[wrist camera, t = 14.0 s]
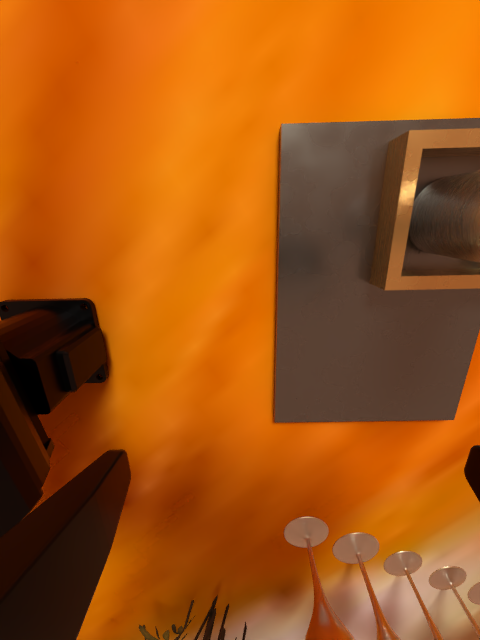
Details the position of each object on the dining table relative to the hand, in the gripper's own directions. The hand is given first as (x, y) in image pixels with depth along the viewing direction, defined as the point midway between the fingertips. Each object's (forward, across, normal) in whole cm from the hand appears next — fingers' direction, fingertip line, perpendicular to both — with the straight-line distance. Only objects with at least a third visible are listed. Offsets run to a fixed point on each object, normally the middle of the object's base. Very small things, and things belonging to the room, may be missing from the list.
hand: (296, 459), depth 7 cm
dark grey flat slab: (+13, -8, -1) cm, 15 cm away
